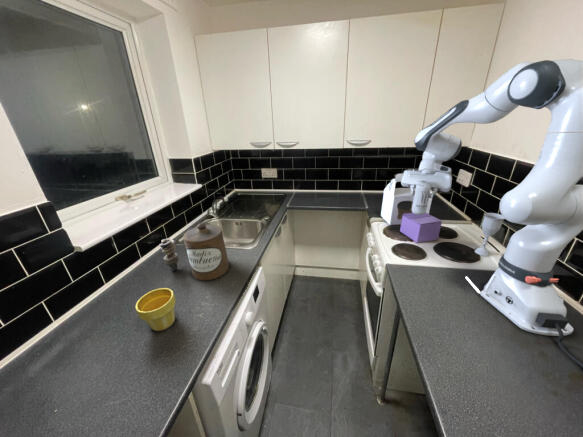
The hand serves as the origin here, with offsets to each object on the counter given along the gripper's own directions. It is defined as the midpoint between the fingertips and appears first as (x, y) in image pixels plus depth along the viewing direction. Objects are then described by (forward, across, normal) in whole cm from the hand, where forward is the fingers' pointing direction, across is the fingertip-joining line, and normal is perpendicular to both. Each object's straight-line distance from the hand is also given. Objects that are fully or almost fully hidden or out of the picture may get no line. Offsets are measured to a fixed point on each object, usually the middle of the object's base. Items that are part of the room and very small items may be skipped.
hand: (421, 196), depth 104 cm
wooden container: (+66, -67, -33) cm, 100 cm away
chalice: (+13, +28, +20) cm, 37 cm away
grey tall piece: (+72, -80, -39) cm, 115 cm away
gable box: (-1, -9, +35) cm, 36 cm away
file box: (+11, +1, +22) cm, 25 cm away
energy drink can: (+6, 0, +6) cm, 9 cm away
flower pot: (+85, -56, -52) cm, 114 cm away
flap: (+5, +4, +14) cm, 16 cm away
